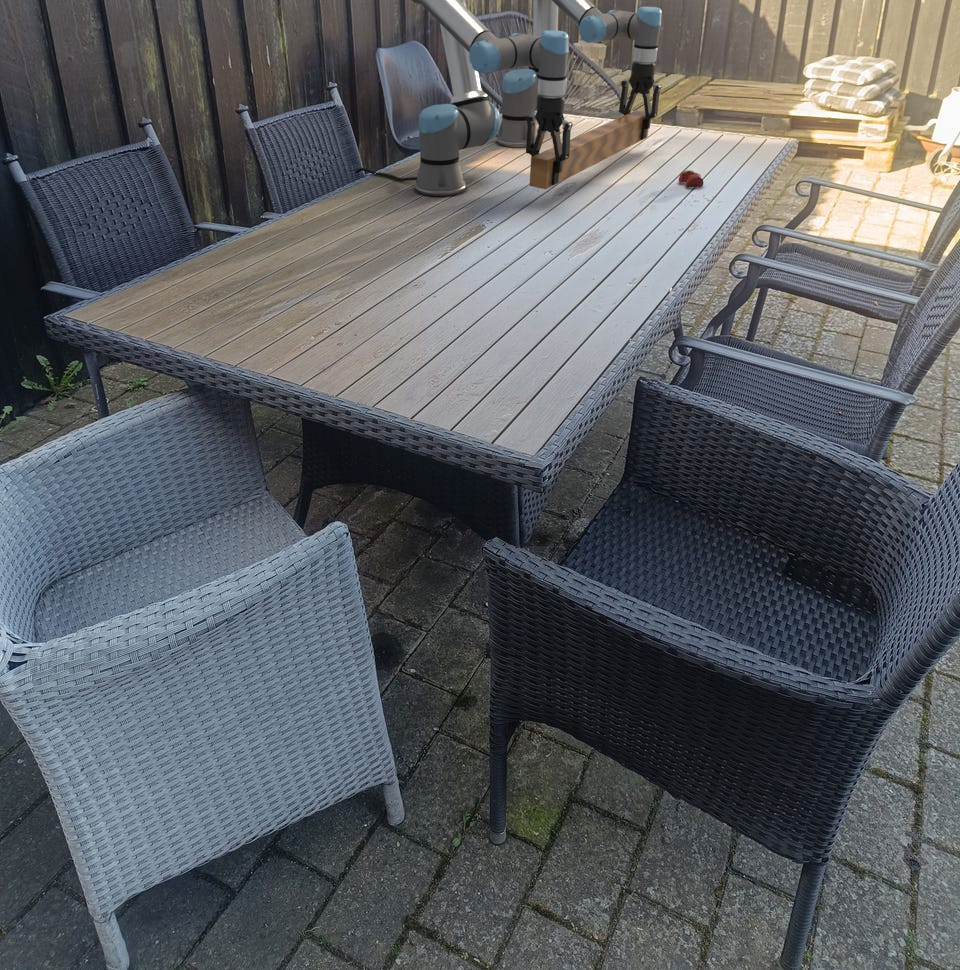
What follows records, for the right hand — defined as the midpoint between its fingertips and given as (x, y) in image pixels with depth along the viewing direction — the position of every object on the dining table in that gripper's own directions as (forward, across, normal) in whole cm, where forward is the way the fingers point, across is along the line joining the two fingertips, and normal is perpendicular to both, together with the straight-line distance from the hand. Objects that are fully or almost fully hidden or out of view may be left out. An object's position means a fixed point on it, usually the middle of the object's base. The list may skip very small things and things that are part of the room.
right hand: (634, 137), depth 286 cm
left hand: (0, 0, +62) cm, 62 cm away
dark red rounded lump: (+6, -29, +21) cm, 36 cm away
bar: (0, 0, +31) cm, 31 cm away
